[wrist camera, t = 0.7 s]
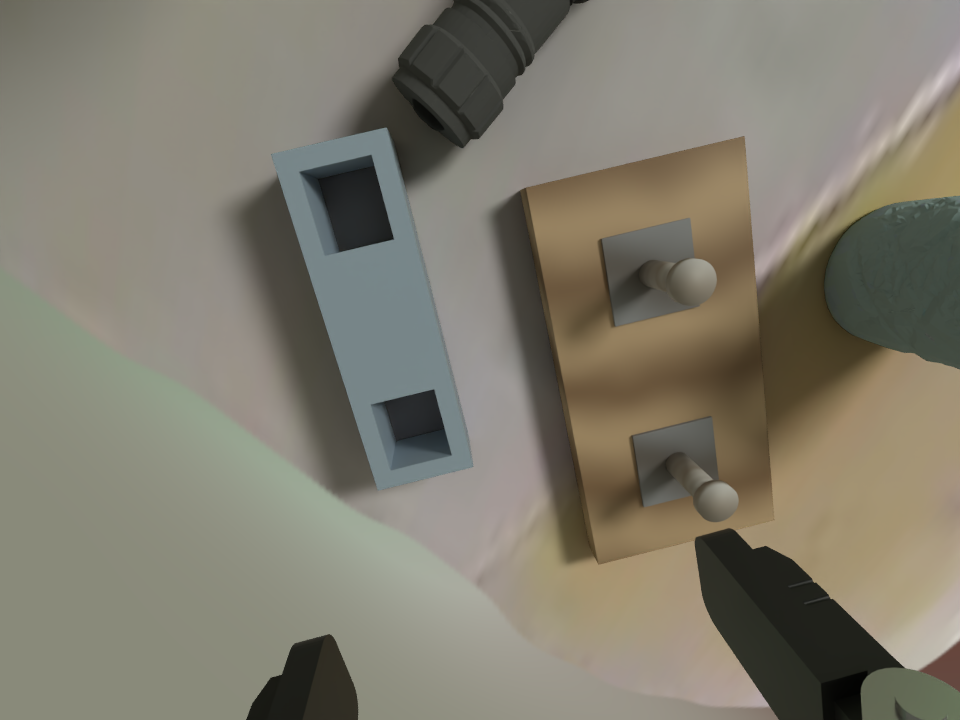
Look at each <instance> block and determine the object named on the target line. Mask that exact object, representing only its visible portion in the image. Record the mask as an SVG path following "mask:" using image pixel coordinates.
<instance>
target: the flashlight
mask: <svg viewBox="0 0 960 720" xmlns="http://www.w3.org/2000/svg"><path fill="white" fill-rule="evenodd" d="M586 1H588V0H454V4H453V7H452V8H446V9H445V10H444V11H443V13H442V14H441V15H440V16H439V18H438V19H437V20H436V22H435V23H434V24H433V25H424V26H423V27H422V28H421V29H420V30H419V32H418V33H417V34H416V36H415V37H414V38H413V40H412V41H411V42H410V43H409V45H408V46H407V47H406V49H405V50H404V51H403V53H402V54H401V55H400V57H399V58H398V61H399V70H398V71H397V72H396V74H395V75H394V76H393V78H392V80H393V82H394V84H395V85H396V87H397V88H398V90H399V91H400V92H401V93H402V94H403V96H404V97H405V98H406V99H407V100H408V101H409V102H410V103H411V105H412V106H413V108H414V110H415V112H416V113H417V114H418V116H419V117H420V118H421V119H422V120H423V121H424V122H425V123H427V124H428V125H429V126H430V127H431V128H433V129H435V130H438V131H439V132H440V133H441V134H443V135H444V136H445V137H446V138H447V139H449V140H450V141H451V142H453V143H454V144H455V145H457V146H459V147H460V148H464V147H465V145H466V144H467V143H468V142H469V141H470V139H479V138H480V137H481V136H482V135H483V133H484V132H485V131H486V130H487V128H488V127H489V126H490V125H491V124H492V122H493V121H494V120H495V119H496V117H497V116H498V115H499V114H500V113H501V111H502V110H503V99H504V98H505V96H506V95H507V94H508V93H509V92H510V90H511V89H512V88H513V87H514V85H515V78H516V77H517V76H519V75H522V74H523V73H524V71H525V67H527V66H529V65H530V64H531V63H532V61H533V59H534V54H535V53H536V52H537V51H538V50H539V48H540V47H541V46H542V45H543V43H544V42H545V41H546V40H547V38H548V37H549V36H550V35H551V34H552V32H553V31H554V30H555V29H556V27H557V26H558V25H559V24H560V22H561V21H562V20H563V19H564V17H565V16H566V15H567V14H568V12H569V8H570V6H571V5H572V3H584V2H586Z"/></svg>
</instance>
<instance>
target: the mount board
mask: <svg viewBox="0 0 960 720" xmlns="http://www.w3.org/2000/svg"><path fill="white" fill-rule="evenodd" d="M520 193H521V198H522V203H523V208H524V213H525V218H526V223H527V228H528V233H529V239H530V244H531V249H532V254H533V259H534V264H535V269H536V274H537V279H538V285H539V290H540V295H541V300H542V305H543V310H544V315H545V320H546V325H547V331H548V336H549V341H550V346H551V351H552V356H553V361H554V366H555V371H556V377H557V382H558V387H559V392H560V397H561V402H562V407H563V412H564V417H565V423H566V428H567V433H568V438H569V443H570V448H571V453H572V458H573V463H574V469H575V474H576V479H577V484H578V489H579V494H580V499H581V504H582V509H583V515H584V520H585V525H586V530H587V535H588V540H589V545H590V548H591V550H592V552H593V554H594V556H595V558H596V560H597V562H598V565H599V564H603V563H607V562H611V561H615V560H619V559H623V558H627V557H631V556H634V555H638V554H642V553H646V552H650V551H654V550H658V549H662V548H666V547H670V546H674V545H678V544H682V543H686V542H690V541H694V540H695V538H696V537H698V536H701V535H705V534H709V533H713V532H716V531H720V530H724V529H727V528H731V529H733V530H738V529H742V528H746V527H750V526H754V525H758V524H762V523H765V522H769V521H773V520H774V508H773V496H772V483H771V470H770V457H769V444H768V431H767V419H766V406H765V393H764V380H763V367H762V355H761V342H760V329H759V316H758V303H757V290H756V278H755V265H754V252H753V239H752V226H751V213H750V201H749V188H748V175H747V162H746V149H745V137H744V136H743V137H739V138H734V139H730V140H726V141H722V142H718V143H713V144H709V145H705V146H701V147H696V148H692V149H688V150H684V151H679V152H675V153H671V154H667V155H663V156H658V157H654V158H650V159H646V160H641V161H637V162H633V163H629V164H624V165H620V166H616V167H612V168H608V169H603V170H599V171H595V172H591V173H586V174H582V175H578V176H574V177H569V178H565V179H561V180H557V181H553V182H548V183H544V184H540V185H536V186H531V187H527V188H524V189H522V190H520Z"/></svg>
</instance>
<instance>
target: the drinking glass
mask: <svg viewBox="0 0 960 720" xmlns="http://www.w3.org/2000/svg"><path fill="white" fill-rule="evenodd" d="M824 290H825V298H826V302H827V305H828V308H829V310H830V312H831V314H832V316H833V318H834V319H835V321H836V322H838V323H839V324H840V325H841V326H842V327H843V328H844V329H845V330H846V331H848V332H849V333H851V334H852V335H854V336H857V337H859V338H861V339H864V340H867V341H870V342H872V343H875V344H878V345H881V346H883V347H886V348H890V349H893V350H896V351H900V352H904V353H915V354H917V355H918V356H920V357H921V358H923V359H925V360H926V361H930V362H937V363H942V364H944V365H948V366H952V367H955V368H957V369H960V196H953V197H943V198H934V199H925V200H917V201H908V202H900V203H894V204H891V205H887V206H884V207H882V208H880V209H877V210H875V211H873V212H871V213H870V214H868V215H867V216H865V217H862V218H861V219H860V221H857V222H856V223H855V224H854V225H852V226H851V227H850V228H849V229H848V230H847V231H846V232H845V233H844V234H843V236H842V237H841V239H840V240H839V242H838V243H837V245H836V247H835V249H834V250H833V252H832V255H831V257H830V259H829V262H828V265H827V268H826V273H825V281H824Z"/></svg>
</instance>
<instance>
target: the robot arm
mask: <svg viewBox="0 0 960 720" xmlns="http://www.w3.org/2000/svg"><path fill="white" fill-rule="evenodd" d="M695 550H696V557H697V563H698V570H699V577H700V584H701V591H702V596H703V600H704V603H705V606H706V608H707V611H708V613H709V615H710V617H711V619H712V621H713V623H714V625H715V626H716V628H717V629H718V631H719V632H720V634H721V635H722V637H723V638H724V640H725V641H726V642H727V644H728V645H729V647H730V648H731V650H732V651H733V653H734V654H735V656H736V657H737V659H738V660H739V662H740V663H741V665H742V666H743V667H744V669H745V670H746V672H747V673H748V675H749V676H750V678H751V679H752V681H753V682H754V684H755V685H756V687H757V688H758V689H759V691H760V692H761V694H762V695H763V697H764V698H765V700H766V701H767V703H768V704H769V706H770V707H771V709H772V710H773V711H774V713H775V714H776V716H777V717H778V719H779V720H960V692H958V691H957V690H956V689H954V688H953V687H951V686H950V685H948V684H947V683H945V682H943V681H941V680H939V679H937V678H935V677H933V676H930V675H928V674H925V673H922V672H919V671H915V670H911V669H906V668H904V667H903V666H902V665H901V664H900V663H899V662H898V661H897V660H896V659H895V658H894V657H892V656H891V655H890V654H889V653H888V652H887V651H886V650H885V649H884V648H883V647H882V646H881V645H880V644H879V643H878V642H877V641H876V640H875V639H874V638H873V637H872V636H871V635H870V634H869V633H868V632H867V631H866V630H865V629H864V628H862V627H861V626H860V625H859V624H858V623H857V622H856V621H855V620H854V619H853V618H852V617H851V616H850V615H849V614H848V613H847V612H846V611H845V610H844V609H843V608H842V607H841V606H840V605H839V604H838V603H837V602H836V601H835V600H834V599H830V597H829V595H828V594H827V593H826V592H825V591H824V590H823V589H822V588H821V587H820V586H819V585H818V584H817V583H814V582H813V580H812V578H811V577H810V576H809V575H808V574H807V573H806V572H805V571H804V570H802V569H801V568H800V567H799V566H798V565H797V564H796V563H795V562H794V561H793V560H792V559H790V558H788V557H786V556H784V555H782V554H780V553H779V552H777V551H775V550H773V549H771V548H769V547H767V546H764V547H760V548H756V549H752V548H751V547H750V546H749V545H748V544H747V543H746V542H745V541H744V540H743V539H742V538H741V536H740V535H739V534H738V533H737V532H736V531H735V530H733V529H731V528H727V529H724V530H720V531H716V532H713V533H709V534H705V535H701V536H698V537H696V538H695ZM246 720H358V701H357V694H356V690H355V687H354V684H353V682H352V679H351V677H350V675H349V672H348V670H347V667H346V665H345V662H344V660H343V658H342V655H341V653H340V651H339V648H338V646H337V643H336V641H335V639H334V638H333V636H332V635H330V634H328V635H324V636H321V637H317V638H313V639H309V640H306V641H302V642H299V643H295V644H294V645H293V646H292V648H291V650H290V652H289V655H288V658H287V661H286V664H285V667H284V670H283V674H282V675H279V676H276V677H272V678H270V680H269V681H268V682H267V684H266V685H265V687H264V688H263V690H262V691H261V692H260V694H259V695H258V696H257V698H256V699H255V701H254V702H253V703H252V706H251V709H250V711H249V714H248V717H247V719H246Z"/></svg>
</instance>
